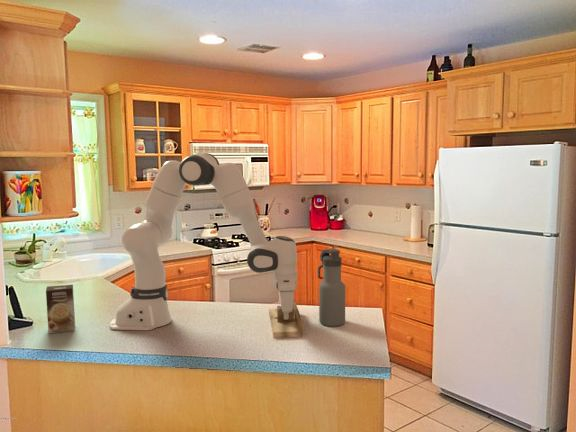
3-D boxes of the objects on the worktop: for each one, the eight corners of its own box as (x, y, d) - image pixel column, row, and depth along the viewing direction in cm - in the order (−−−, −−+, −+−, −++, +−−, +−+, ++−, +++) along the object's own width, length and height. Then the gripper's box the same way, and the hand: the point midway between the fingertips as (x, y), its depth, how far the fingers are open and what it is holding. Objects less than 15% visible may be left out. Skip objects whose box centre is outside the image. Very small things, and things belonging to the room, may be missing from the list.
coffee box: (47, 334, 179) (44, 290, 177) (49, 328, 185) (46, 286, 183) (75, 330, 182) (72, 288, 180) (76, 325, 188) (73, 283, 186)
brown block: (274, 322, 182) (274, 309, 182) (274, 318, 186) (274, 306, 186) (294, 321, 183) (294, 308, 182) (293, 318, 187) (293, 305, 186)
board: (273, 337, 173) (273, 325, 172) (269, 313, 199) (268, 303, 198) (303, 336, 174) (303, 324, 173) (295, 312, 200) (295, 302, 199)
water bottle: (313, 321, 189) (313, 248, 186) (333, 316, 195) (333, 246, 191) (329, 328, 181) (329, 253, 177) (350, 323, 186) (350, 250, 183)
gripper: (274, 273, 193) (275, 308, 195) (278, 287, 173) (278, 326, 174) (291, 273, 193) (291, 307, 195) (296, 287, 173) (296, 325, 175)
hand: (285, 316), depth 185 cm, fingers closed on brown block, 4 cm apart
